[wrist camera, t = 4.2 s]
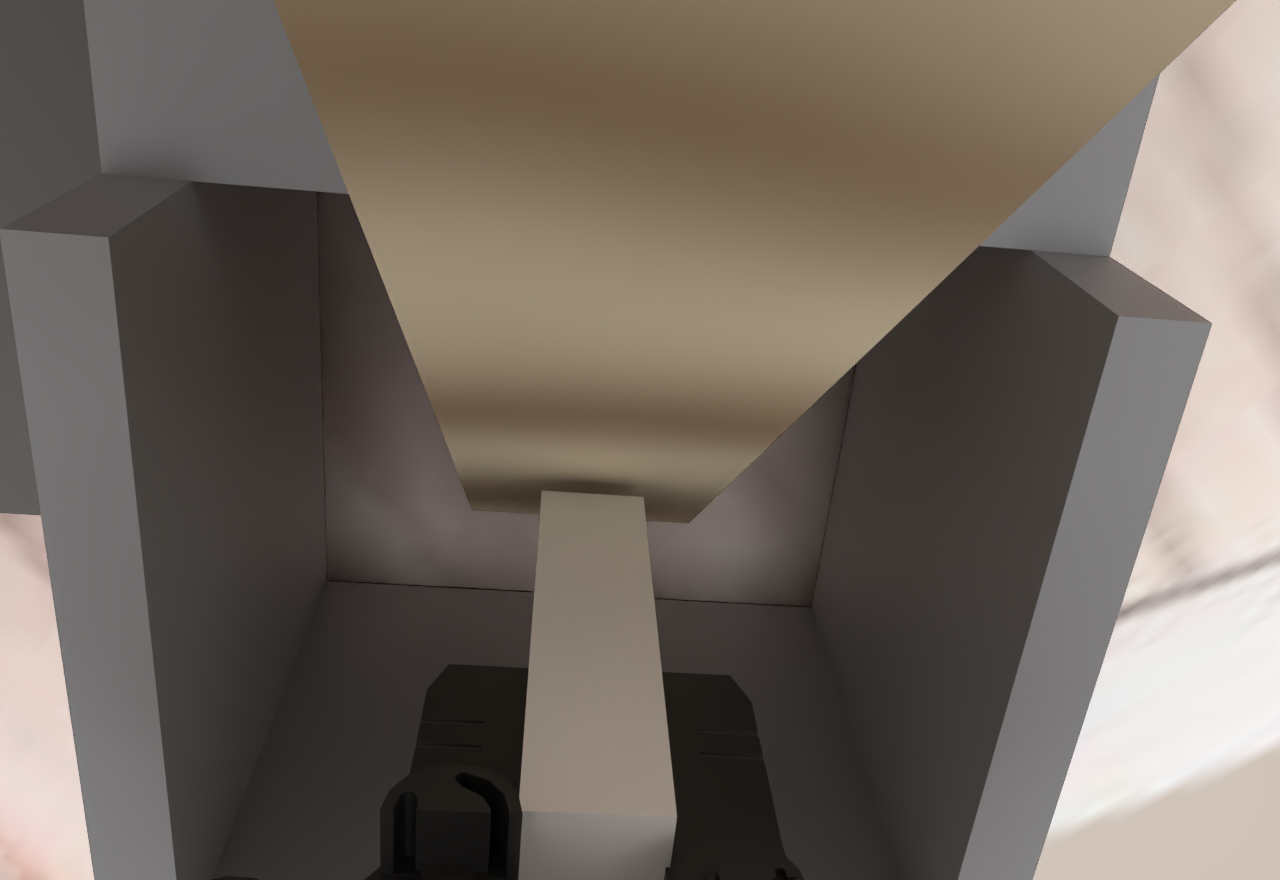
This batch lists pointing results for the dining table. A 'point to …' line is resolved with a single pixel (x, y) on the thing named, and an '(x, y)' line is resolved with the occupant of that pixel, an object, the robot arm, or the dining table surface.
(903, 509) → the pocket block
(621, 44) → the birch bar
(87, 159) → the rubber mat
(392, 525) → the dining table surface
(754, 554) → the dining table surface
